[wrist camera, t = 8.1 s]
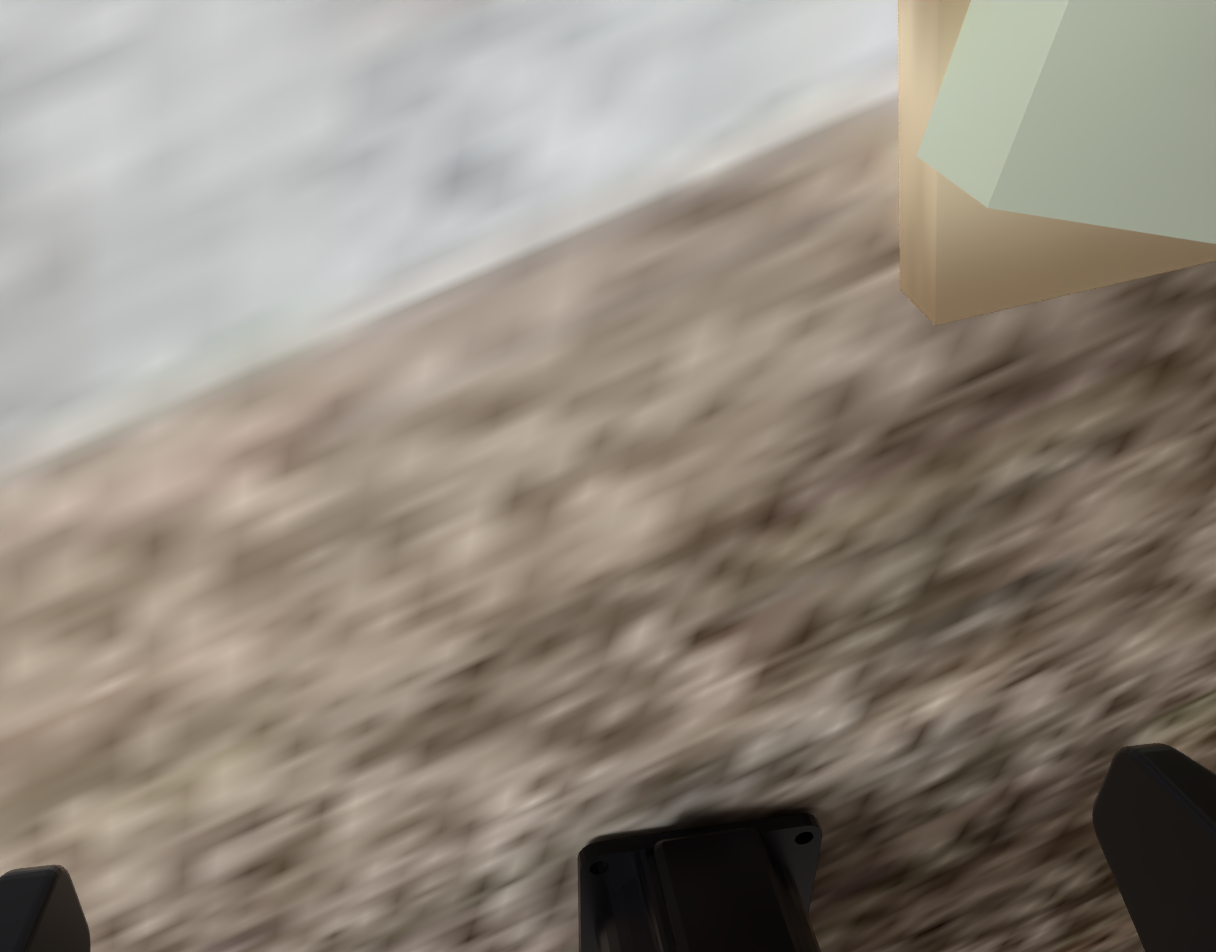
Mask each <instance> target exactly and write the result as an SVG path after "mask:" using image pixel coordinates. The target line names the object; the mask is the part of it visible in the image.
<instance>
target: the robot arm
mask: <svg viewBox="0 0 1216 952" xmlns="http://www.w3.org/2000/svg"><path fill="white" fill-rule="evenodd" d="M1092 816H1093V825H1094V829H1095V832H1096V835H1097V838H1098V840H1099V843H1100V845H1101V847H1102V850H1103V852H1104V854H1105V857H1106V859H1107V862H1108V864H1109V866H1110V869H1111V871H1112V873H1113V876H1114V878H1115V881H1116V883H1117V885H1118V888H1119V890H1120V892H1121V895H1122V897H1123V899H1124V902H1125V904H1126V907H1127V909H1128V911H1129V914H1130V916H1131V918H1132V921H1133V923H1134V926H1135V928H1136V930H1137V933H1138V935H1139V937H1140V940H1141V942H1142V944H1143V947H1144V949H1145V952H1216V774H1215V773H1213V772H1211V771H1210V770H1208V769H1207V768H1205V767H1203V766H1202V765H1200V764H1199V763H1197V762H1196V761H1194V760H1192V759H1191V758H1189V757H1188V756H1186V755H1184V754H1183V753H1181V752H1180V751H1178V750H1176V749H1174V748H1173V747H1171V746H1168V745H1165V744H1160V743H1153V744H1144V745H1135V746H1127V747H1123V748H1121V749H1120V750H1119V751H1117V753H1116V754H1115V755H1114V757H1113V759H1112V762H1111V764H1110V766H1109V769H1108V771H1107V773H1106V776H1105V778H1104V781H1103V783H1102V785H1101V788H1100V790H1099V792H1098V795H1097V797H1096V799H1095V802H1094V805H1093V812H1092ZM821 839H822V831H821V828H820V826H819V823H818V821H817V819H816V818H815V816H814V815H811V814H808V813H803V814H794V815H787V816H780V817H773V818H766V819H759V820H752V821H745V822H738V823H731V824H724V825H717V826H710V827H703V828H696V829H689V830H682V831H675V832H668V833H661V834H654V835H647V836H640V837H633V838H626V839H619V840H612V841H605V842H598V843H594V844H590V845H588V846H586V847H584V848H583V849H582V850H581V851H580V852H579V855H578V911H579V952H821V950H820V948H819V945H818V942H817V940H816V937H815V934H814V931H813V929H812V926H811V923H810V921H809V918H808V912H809V906H810V901H811V895H812V890H813V884H814V878H815V873H816V867H817V862H818V856H819V851H820V845H821ZM0 952H90V933H89V928H88V924H87V922H86V919H85V916H84V913H83V910H82V908H81V905H80V902H79V899H78V896H77V894H76V891H75V888H74V885H73V883H72V880H71V877H70V875H69V873H68V871H67V870H66V869H65V868H64V867H62V866H60V865H47V866H38V867H29V868H20V869H15V870H11V871H9V872H7V873H5V874H4V875H2V876H1V877H0Z"/></svg>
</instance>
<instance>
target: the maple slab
mask: <svg viewBox="0 0 1216 952" xmlns="http://www.w3.org/2000/svg"><path fill="white" fill-rule="evenodd" d="M970 1H971V0H898V87H899V215H900V290H901V291H902V292H903V293H904V294H905V295H906V296H907V297H908V298H909V299H910V300H911V301H912V302H913V303H914V304H915V305H916V306H917V307H918V308H919V309H920V310H921V311H922V312H923V313H924V315H925V316H926V317H927V318H928V319H929V320H930V321H931V322H932V323H933V324H934V325H935V326H936V325H940V324H944V323H949V322H953V321H957V320H962V319H966V318H970V317H974V316H979V315H983V314H987V313H992V312H996V311H1000V310H1005V309H1009V308H1013V307H1018V306H1022V305H1026V304H1031V303H1035V302H1039V301H1044V300H1048V299H1052V298H1057V297H1061V296H1065V295H1070V294H1074V293H1078V292H1083V291H1087V290H1091V289H1096V288H1100V287H1104V286H1108V285H1113V284H1117V283H1121V282H1126V281H1130V280H1134V279H1139V278H1143V277H1147V276H1152V275H1156V274H1160V273H1165V272H1169V271H1173V270H1178V269H1182V268H1186V267H1191V266H1195V265H1199V264H1204V263H1208V262H1212V261H1216V244H1212V243H1206V242H1199V241H1193V240H1187V239H1180V238H1174V237H1168V236H1161V235H1155V234H1149V233H1142V232H1136V231H1130V230H1124V229H1117V228H1111V227H1105V226H1098V225H1092V224H1086V223H1079V222H1073V221H1067V220H1060V219H1054V218H1048V217H1041V216H1035V215H1029V214H1022V213H1016V212H1010V211H1003V210H997V209H991V208H987V207H985V206H984V205H983V204H981V203H980V202H979V201H977V200H976V199H975V198H973V197H972V196H970V195H969V194H968V193H966V192H965V191H964V190H962V189H961V188H960V187H958V186H957V185H955V184H954V183H953V182H951V181H950V180H949V179H947V178H946V177H945V176H943V175H942V174H940V173H939V172H938V171H936V170H935V169H934V168H932V167H931V166H930V165H928V164H927V163H925V162H924V161H923V160H921V159H920V158H919V157H917V153H918V150H919V147H920V144H921V142H922V139H923V136H924V133H925V130H926V127H927V124H928V122H929V119H930V116H931V113H932V110H933V107H934V104H935V102H936V99H937V96H938V93H939V90H940V87H941V84H942V82H943V79H944V76H945V73H946V70H947V67H948V64H949V62H950V59H951V56H952V53H953V50H954V47H955V44H956V42H957V39H958V36H959V33H960V30H961V27H962V24H963V21H964V19H965V16H966V13H967V10H968V7H969V4H970Z"/></svg>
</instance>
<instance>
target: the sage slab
mask: <svg viewBox="0 0 1216 952" xmlns="http://www.w3.org/2000/svg"><path fill="white" fill-rule="evenodd" d="M917 157H919V158H920V159H921V160H923V161H924V162H925V163H927V164H928V165H930V166H931V167H932V168H934V169H935V170H936V171H938V172H939V173H940V174H942V175H943V176H945V177H946V178H947V179H949V180H950V181H951V182H953V183H954V184H955V185H957V186H958V187H960V188H961V189H962V190H964V191H965V192H966V193H968V194H969V195H970V196H972V197H973V198H975V199H976V200H977V201H979V202H980V203H981V204H983V205H984V206H985V207H987V208H991V209H997V210H1003V211H1010V212H1016V213H1022V214H1029V215H1035V216H1041V217H1048V218H1054V219H1060V220H1067V221H1073V222H1079V223H1086V224H1092V225H1098V226H1105V227H1111V228H1117V229H1124V230H1130V231H1136V232H1142V233H1149V234H1155V235H1161V236H1168V237H1174V238H1180V239H1187V240H1193V241H1199V242H1206V243H1212V244H1216V0H971V1H970V4H969V7H968V10H967V13H966V16H965V19H964V21H963V24H962V27H961V30H960V33H959V36H958V39H957V42H956V44H955V47H954V50H953V53H952V56H951V59H950V62H949V64H948V67H947V70H946V73H945V76H944V79H943V82H942V84H941V87H940V90H939V93H938V96H937V99H936V102H935V104H934V107H933V110H932V113H931V116H930V119H929V122H928V124H927V127H926V130H925V133H924V136H923V139H922V142H921V144H920V147H919V150H918V153H917Z"/></svg>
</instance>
